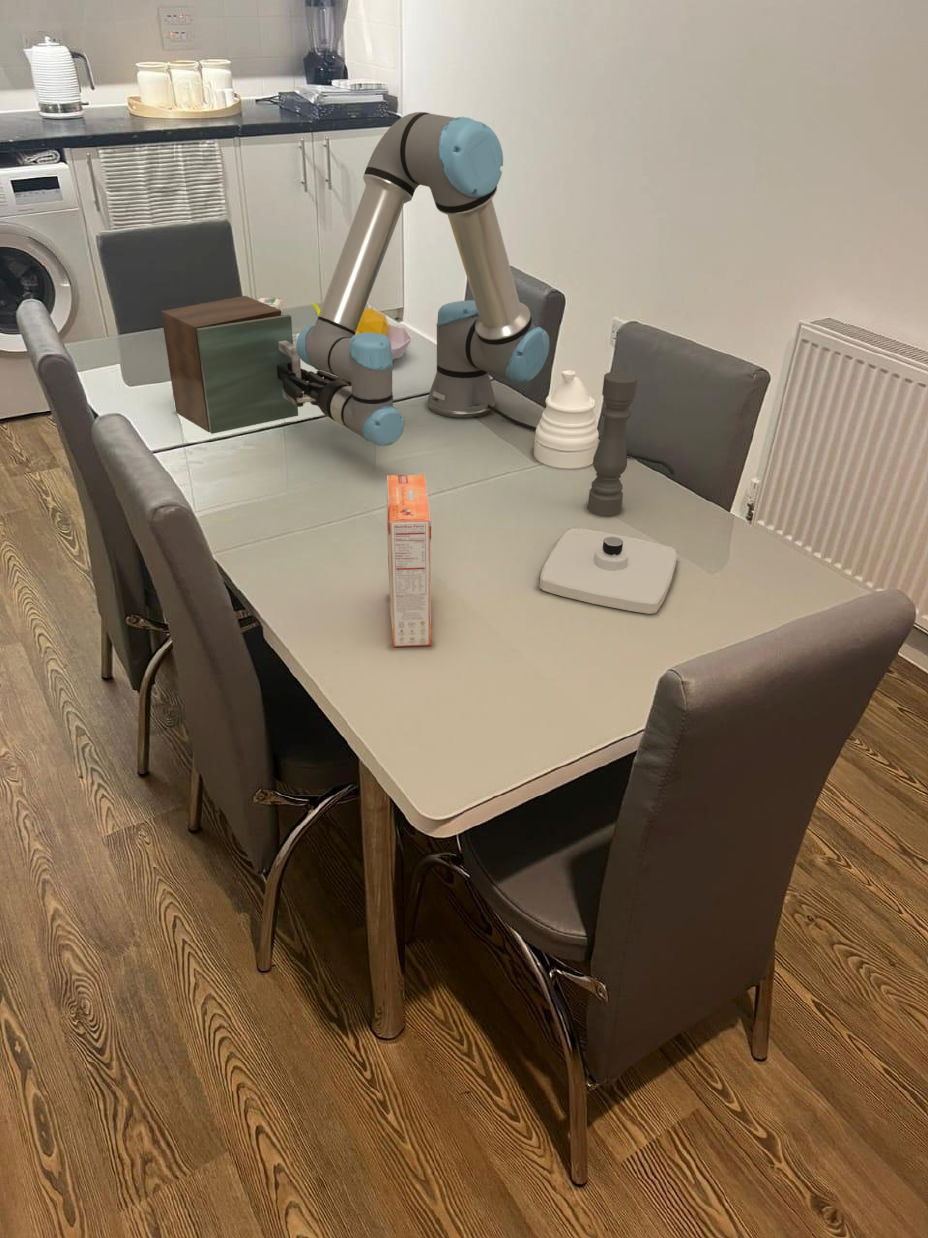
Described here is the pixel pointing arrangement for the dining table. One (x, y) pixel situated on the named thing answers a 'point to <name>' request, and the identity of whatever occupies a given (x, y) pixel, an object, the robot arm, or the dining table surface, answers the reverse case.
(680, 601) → the dining table surface
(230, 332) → the cupboard door
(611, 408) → the candle holder
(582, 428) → the honey pot
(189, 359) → the cupboard
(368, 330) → the fruit bowl
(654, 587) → the showerhead
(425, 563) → the cracker box
